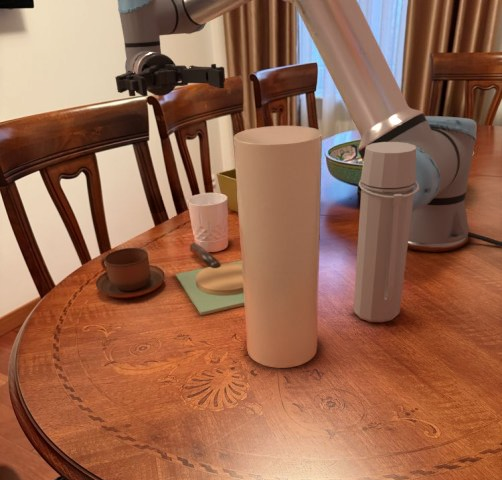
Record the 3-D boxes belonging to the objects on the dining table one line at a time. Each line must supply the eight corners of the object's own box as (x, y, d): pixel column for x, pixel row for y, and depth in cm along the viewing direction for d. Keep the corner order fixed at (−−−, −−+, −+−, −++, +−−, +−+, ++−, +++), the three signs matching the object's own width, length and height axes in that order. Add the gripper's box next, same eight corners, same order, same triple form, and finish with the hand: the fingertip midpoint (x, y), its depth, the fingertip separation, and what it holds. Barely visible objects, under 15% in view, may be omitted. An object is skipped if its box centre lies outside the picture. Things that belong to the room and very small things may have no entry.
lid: (269, 285, 90) (269, 274, 89) (211, 301, 86) (209, 290, 85) (218, 245, 106) (217, 235, 105) (167, 257, 102) (166, 247, 101)
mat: (291, 294, 88) (291, 291, 87) (201, 315, 83) (200, 312, 83) (255, 260, 100) (255, 257, 100) (175, 276, 96) (175, 273, 95)
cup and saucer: (87, 303, 88) (79, 270, 85) (112, 273, 98) (106, 242, 95) (154, 305, 87) (149, 271, 83) (173, 274, 97) (169, 242, 94)
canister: (323, 333, 77) (329, 126, 61) (308, 372, 69) (311, 145, 53) (259, 325, 80) (249, 125, 64) (237, 362, 72) (220, 143, 56)
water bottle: (345, 304, 84) (354, 143, 71) (393, 300, 84) (411, 139, 71) (360, 334, 76) (373, 159, 63) (412, 329, 76) (437, 154, 63)
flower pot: (240, 218, 121) (238, 179, 116) (218, 210, 127) (215, 172, 122) (269, 209, 125) (268, 171, 120) (246, 201, 131) (244, 165, 126)
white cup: (227, 254, 103) (223, 205, 98) (188, 253, 105) (182, 205, 99) (234, 239, 110) (230, 192, 105) (198, 238, 111) (193, 192, 106)
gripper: (215, 88, 111) (252, 99, 94) (97, 100, 104) (114, 115, 87) (212, 48, 107) (250, 52, 90) (89, 57, 100) (105, 64, 83)
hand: (183, 83), depth 88 cm, fingers open, 13 cm apart
